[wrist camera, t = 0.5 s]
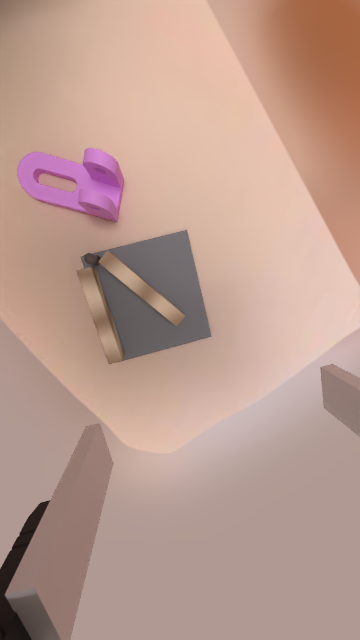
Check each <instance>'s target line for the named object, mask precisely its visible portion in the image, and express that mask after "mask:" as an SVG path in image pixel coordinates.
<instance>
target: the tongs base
mask: <svg viewBox="0 0 360 640" xmlns="http://www.w3.org/2000/svg"><path fill="white" fill-rule="evenodd" d="M100 259H101V258H100V257H99V256H97V255H94V254H91V253H88V254H86V255H85V256H84V260H85V262H86V263H87V264H92V265H99V264H100V263H98V262H99V261H100ZM77 274H78V277H79V280H80V283H81V286H82V288H83V291H84V294H85V297H86V300H87V303H88V305H89V308H90V311H91V314H92V317H93V320H94V323H95V325H96V328H97V331H98V334H99V337H100V340H101V342H102V345H103V348H104V351H105V354H106V357H107V360H108V362H109V364H112V363H115V362H119V361H122V360H123V358H124V355H125V354H124V351H123V348H122V345H121V342H120V339H119V336H118V333H117V330H116V327H115V324H114V321H113V318H112V314H111V311H110V308H109V305H108V302H107V299H106V296H105V293H104V290H103V287H102V284H101V281H100V278H99V275H98V272H97V269H96V267H89V268H85V269H81V270H77Z"/></svg>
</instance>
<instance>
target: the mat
mask: <svg viewBox="0 0 360 640" xmlns="http://www.w3.org/2000/svg"><path fill="white" fill-rule="evenodd" d="M107 251H109V252H111V253H112V254H114V255H115V256H116V257H117V258H118V259H120V260H121V261H122V262H123V263H124V264H126V265H127V266H128V267H129V268H130V269H131V270H133V271H134V272H135V273H136V274H137V275H139V276H140V277H141V278H142V279H143V280H145V281H146V282H147V283H148V284H149V285H151V286H152V287H153V288H154V289H155V290H156V291H158V292H159V293H160V294H161V295H162V296H164V297H165V298H166V299H167V300H168V301H170V302H171V303H172V304H173V305H174V306H176V307H177V308H178V309H179V310H180V311H181V312H183V313H184V315H185V317H184V319H183V320H182V321H181V322H180V323H179V324H178V326H175V325H174V324H173V323H172V322H171V321H169V320H168V319H167V318H166V317H164V316H163V315H162V314H161V313H160V312H158V311H157V310H156V309H155V308H153V307H152V306H151V305H150V304H149V303H147V302H146V301H145V300H144V299H142V298H141V297H140V296H139V295H138V294H136V293H135V292H134V291H133V290H131V289H130V288H129V287H128V286H127V285H125V284H124V283H123V282H122V281H120V280H119V279H118V278H117V277H116V276H114V275H113V274H112V273H111V272H109V271H108V270H107V269H106V268H105V267H103V266H102V265H101V264H99V265H92V264H87V263H86V262H85V260H84V256H82V257H81V259H82V262H83V265H84V268H89V267H96V269H97V272H98V275H99V278H100V281H101V284H102V287H103V290H104V293H105V296H106V299H107V302H108V305H109V308H110V311H111V314H112V318H113V321H114V324H115V327H116V330H117V333H118V336H119V339H120V342H121V345H122V348H123V351H124V354H125V355H124V358H123V360H127V359H131V358H134V357H138V356H142V355H145V354H149V353H153V352H156V351H160V350H164V349H167V348H171V347H175V346H178V345H182V344H186V343H189V342H193V341H197V340H200V339H204V338H208V337H211V333H210V329H209V324H208V320H207V316H206V311H205V307H204V303H203V298H202V294H201V290H200V285H199V281H198V277H197V272H196V268H195V264H194V259H193V255H192V250H191V246H190V242H189V237H188V233H187V230H185V231H181V232H177V233H173V234H169V235H165V236H161V237H157V238H153V239H149V240H145V241H141V242H137V243H133V244H129V245H125V246H121V247H117V248H113V249H109V250H105V251H101V252H97V253H94V255H97V256H99V257H100V258H102V257H103V255H104V254H105V253H106V252H107ZM123 360H122V361H123ZM119 362H120V361H119Z"/></svg>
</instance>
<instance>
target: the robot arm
mask: <svg viewBox="0 0 360 640" xmlns="http://www.w3.org/2000/svg"><path fill="white" fill-rule="evenodd" d="M321 380H322V391H323V403H324V408H325V409H326V410H327V411H329V412H330V413H331V414H332V415H334V416H335V417H336V418H337V419H338V420H340V421H341V422H342V423H343V424H345V425H346V426H347V427H348V428H350V429H351V430H352V431H353V432H355V433H356V434H357V435H358V436H360V378H359V377H357V376H355V375H353V374H351V373H349V372H347V371H345V370H343V369H341V368H339V367H337V366H335V365H333V364H331V365H327V366H323V367H321ZM112 466H113V461H112V458H111V455H110V452H109V449H108V446H107V443H106V441H105V437H104V434H103V431H102V429H101V426H100V423H98V424H94V425H90V426H86V428H85V430H84V432H83V434H82V436H81V438H80V440H79V442H78V444H77V446H76V448H75V450H74V452H73V455H72V457H71V459H70V461H69V463H68V465H67V467H66V469H65V471H64V473H63V475H62V477H61V480H60V481H59V483H58V486H57V488H56V490H55V492H54V494H53V496H52V498H51V500H49V501H46V502H42V503H40V504H39V505H38V506H37V508H36V509H35V510H34V511H33V512H32V514H31V515H30V516H29V517H28V519H27V521H26V522H25V524H24V526H23V528H22V530H21V532H20V536H19V537H17V539H16V541H15V543H14V545H13V547H12V550H11V551H10V552H9V554H8V556H7V558H6V559H5V561H4V563H3V565H2V567H1V569H0V640H70V638H71V634H72V630H73V626H74V622H75V618H76V614H77V610H78V606H79V601H80V598H81V593H82V589H83V585H84V581H85V577H86V573H87V569H88V565H89V561H90V556H91V552H92V548H93V544H94V540H95V536H96V532H97V528H98V524H99V520H100V516H101V511H102V507H103V503H104V499H105V495H106V491H107V487H108V483H109V479H110V474H111V470H112Z"/></svg>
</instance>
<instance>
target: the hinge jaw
mask: <svg viewBox="0 0 360 640" xmlns="http://www.w3.org/2000/svg"><path fill="white" fill-rule="evenodd" d="M98 263H100V264H101V265H102V266H103V267H105V268H106V269H107V270H108V271H109V272H111V273H112V274H113V275H114V276H116V277H117V278H118V279H119V280H120V281H122V282H123V283H124V284H125V285H127V286H128V287H129V288H130V289H131V290H133V291H134V292H135V293H136V294H138V295H139V296H140V297H141V298H142V299H144V300H145V301H146V302H147V303H149V304H150V305H151V306H152V307H153V308H155V309H156V310H157V311H158V312H160V313H161V314H162V315H163V316H164V317H166V318H167V319H168V320H169V321H171V322H172V323H173V324H174V325H175V326H178V324H179V323H180V322H181V321H182V320H183V319H184V317H185V315H184V313H183V312H181V311H180V310H179V309H178V308H177V307H176V306H174V305H173V304H172V303H171V302H170V301H168V300H167V299H166V298H165V297H164V296H162V295H161V294H160V293H159V292H158V291H156V290H155V289H154V288H153V287H152V286H151V285H149V284H148V283H147V282H146V281H145V280H143V279H142V278H141V277H140V276H139V275H137V274H136V273H135V272H134V271H133V270H131V269H130V268H129V267H128V266H127V265H126V264H124V263H123V262H122V261H121V260H120V259H118V258H117V257H116V256H115V255H114V254H112V253H111V252H109V251H107V252H106V253H105V254H104V255H103V257H102V258H101V259H100V261H99V262H98Z"/></svg>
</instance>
